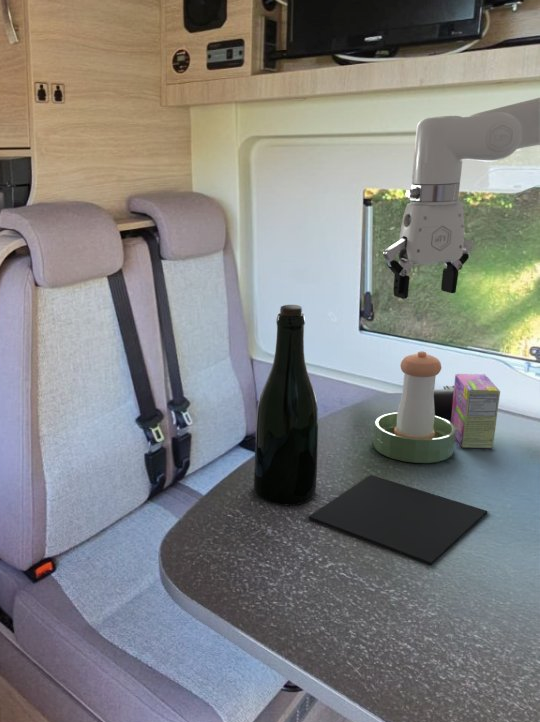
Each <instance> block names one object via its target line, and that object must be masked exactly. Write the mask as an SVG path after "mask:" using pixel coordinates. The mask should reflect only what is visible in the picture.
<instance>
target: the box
mask: <svg viewBox="0 0 540 722" xmlns="http://www.w3.org/2000/svg"><path fill="white" fill-rule="evenodd" d="M453 386H454V394H453V405H452V415H451V420H450V422H451V423H452V424H453V425H454V426H455V428H456V433H455V439H456V440H457V442H458V443H459V445H460V447H461V448H463V449H464V448H465V449H466V448H467V449H493V448H494V442H495V433H496V426H497V419H498V411H499V405H500V404H499V403H500V397H501V390H500V389H499V388H498V387H497V386H496V385H495V384H494V383H493V382H492V380H491V379H490V378H489V377H488V376H487V375H486V374H485V373H456V374H455V375H454V384H453Z"/></svg>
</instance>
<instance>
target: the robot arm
mask: <svg viewBox="0 0 540 722" xmlns="http://www.w3.org/2000/svg"><path fill="white" fill-rule="evenodd" d="M414 142H415V143H414V151H413V152H414V154H413V163H412V175H411V185H410V189H409V188H408V189H406V190H405V197H406V198H408V199H409V203H407V204H406V205H405V206H406V207H405V210H404V212H403V217H402V221H401V226H400V230H399V231H400V232H399V237H398V241H396V242H395V243H392V244H391V245H390V246H388V247H387V248H385V249H384V250H383V251H382V255H383V258H384V260H385V263H386V266H387V267H388V269H389V270H390V271H391V274H392V275H394V276H393V277H394V278H393V287H392V288H393V296H394V297H396V298H399V299H402V300H405V299H408V297H409V287H410V276H409V275H408V273H409V272H410V270H412V268H413V267H414V265H419V266H423V265H434V264H443V263H444V265H445V267H444V268H443V269H442V276H441V285H440V290H441V291H443V292H445V293H449V294H455V293H457V286H458V279H459V271H461V270H463V265H464V264H465V263H466V262H467V261H468V260H469V258H470V257H469V255H470V254H471V253H472V251H473V249H474V247H475V243H474V242H472V241H471V240H469V239H467V238H465V214H464V213H465V212H464V205H463V202H462V201H459V196H460V195H459V194H460V187H461V178H462V168H463V162H464V161H465V160H467V161H480V162H489V163H490V162H497V161H501V160H504V159H507V157H510V156H511V155H512V154H513V153H515V152H516V151H517V150H519V149H523V148H524V149H525V148H529V147H534V146H540V97H537V98H534V99H529V100H525V101H520V102H517V103H513V104H507V105H504V106H500V107H497V108H492V109H488V110H484V111H481V112H477V113H473V114H471V115H470V116H460V115H441V116H428V117H424V118H422V119H421V120H420V121H419V122H418V123H417V125H416V132H415V141H414ZM396 255H397V258H398V260H396V259H397V258H396Z"/></svg>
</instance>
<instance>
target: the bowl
mask: <svg viewBox="0 0 540 722" xmlns="http://www.w3.org/2000/svg"><path fill="white" fill-rule="evenodd" d="M397 412H398V411H397ZM397 412H391V413H385V414H382V415H380V416H379V417H377V418H376V419H375V421H374V429H373V439H372V440H373V442H372V445H373V447H374V449H375V450H376V451H377V452H378V453H379V454H381V455H383V456H385V457H388V458H390V459H393V460H397V461H401V462H406V463H413V464H431V463H439V462H442V461H445V460H448V459H449V458H450V457H452V456H453V454H454V450H455V449H454V448H455V441H456V440H455V439H456V437H455V433H456V428H455V426H454V425H453V424H452V423H451V421H450V420H446V419H443V418H440V417H438V416H435V419H434V426H433V430H434V432H435V436H434V438H433V439H414V438H407V437H402V436H398V435H394V428H395V427H396V426H397Z"/></svg>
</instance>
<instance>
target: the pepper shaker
mask: <svg viewBox="0 0 540 722" xmlns="http://www.w3.org/2000/svg"><path fill="white" fill-rule="evenodd" d="M399 366H400V370H401V372H402V373H403V374H404V375H403V383H402V394H401V397H400V400H399V404H398V407H397V426H396V427H395V428H394V435H398V436H402V437H407V438H414V439H433V438H434V436H435V432H434V430H433V426H434V419H435V409H434V390H435V386H436V377H437V375H439V374H440V372H441V370H442V362H441V361H440V359H439V358H437V357H436V356H433V355H431V354H428V353H427V352H426V351H423V350H421V351H418V352H417V353H413V354H410V355H407V356H405V357H403V359H402V360H401V361H400V365H399Z"/></svg>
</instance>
